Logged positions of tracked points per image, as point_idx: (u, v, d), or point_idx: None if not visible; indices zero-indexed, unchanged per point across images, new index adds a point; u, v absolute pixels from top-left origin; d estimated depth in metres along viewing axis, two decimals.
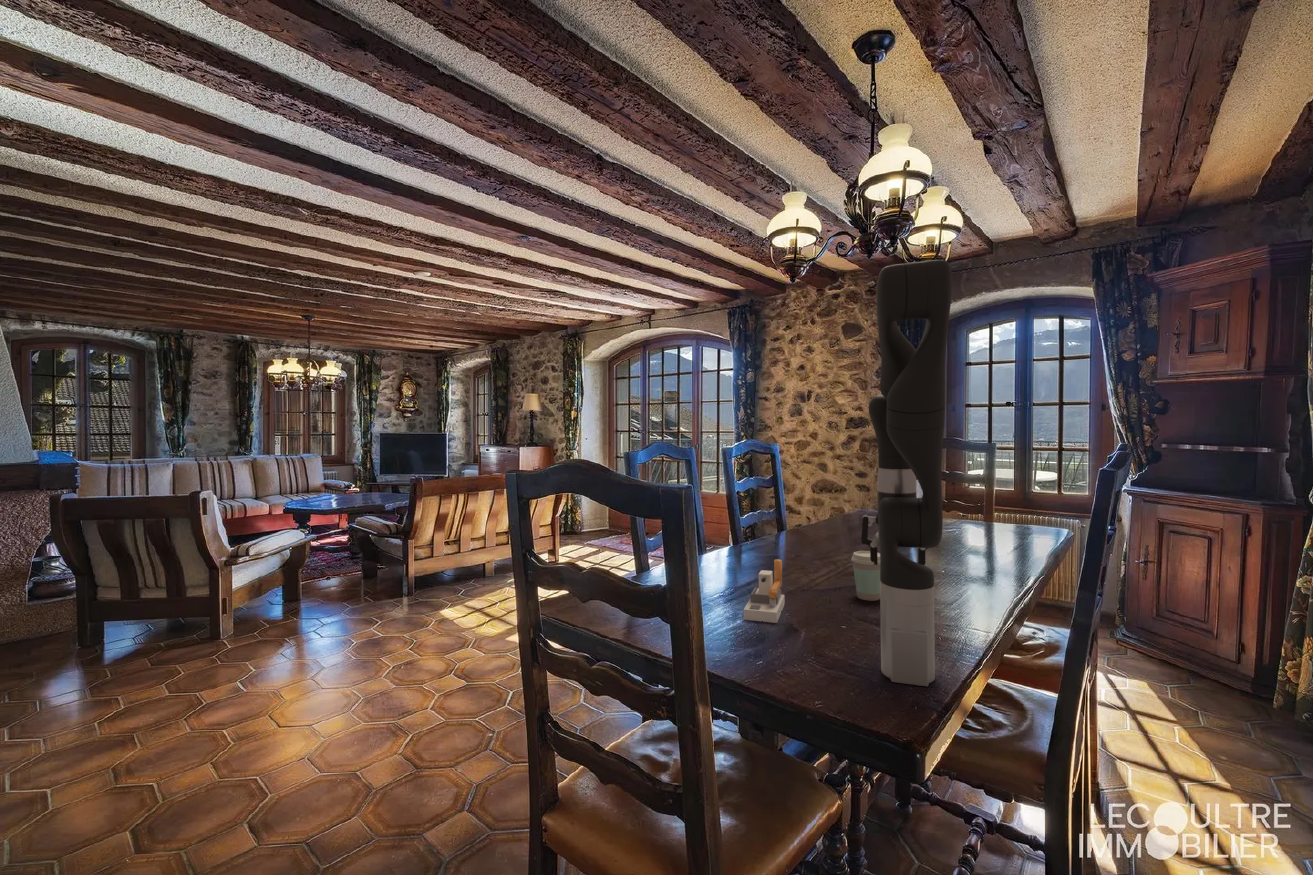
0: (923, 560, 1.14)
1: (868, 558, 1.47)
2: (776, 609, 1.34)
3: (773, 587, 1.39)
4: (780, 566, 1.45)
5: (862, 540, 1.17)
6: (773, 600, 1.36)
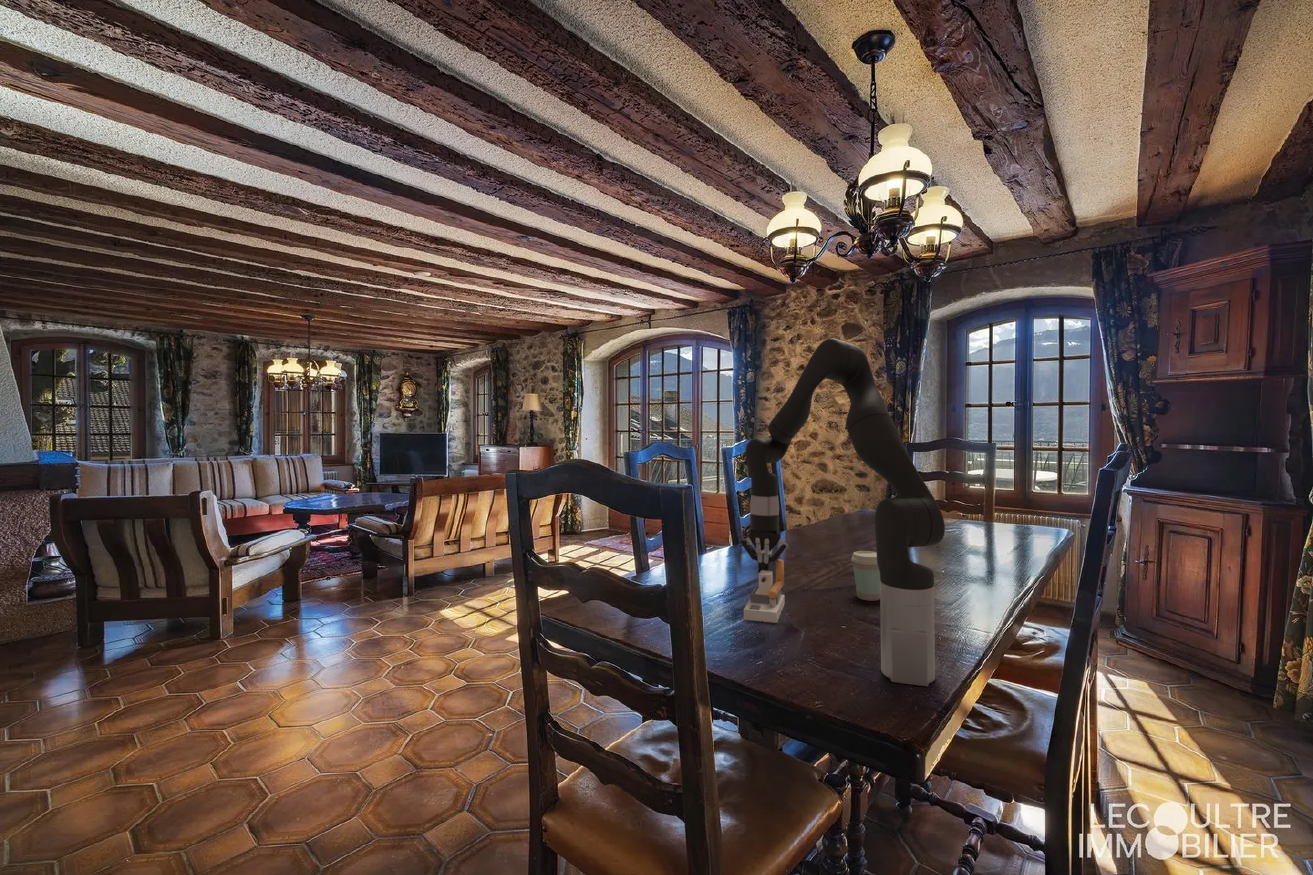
0: None
1: (868, 558, 1.47)
2: (776, 609, 1.34)
3: (773, 587, 1.39)
4: (782, 566, 1.45)
5: (752, 556, 1.48)
6: (773, 600, 1.36)
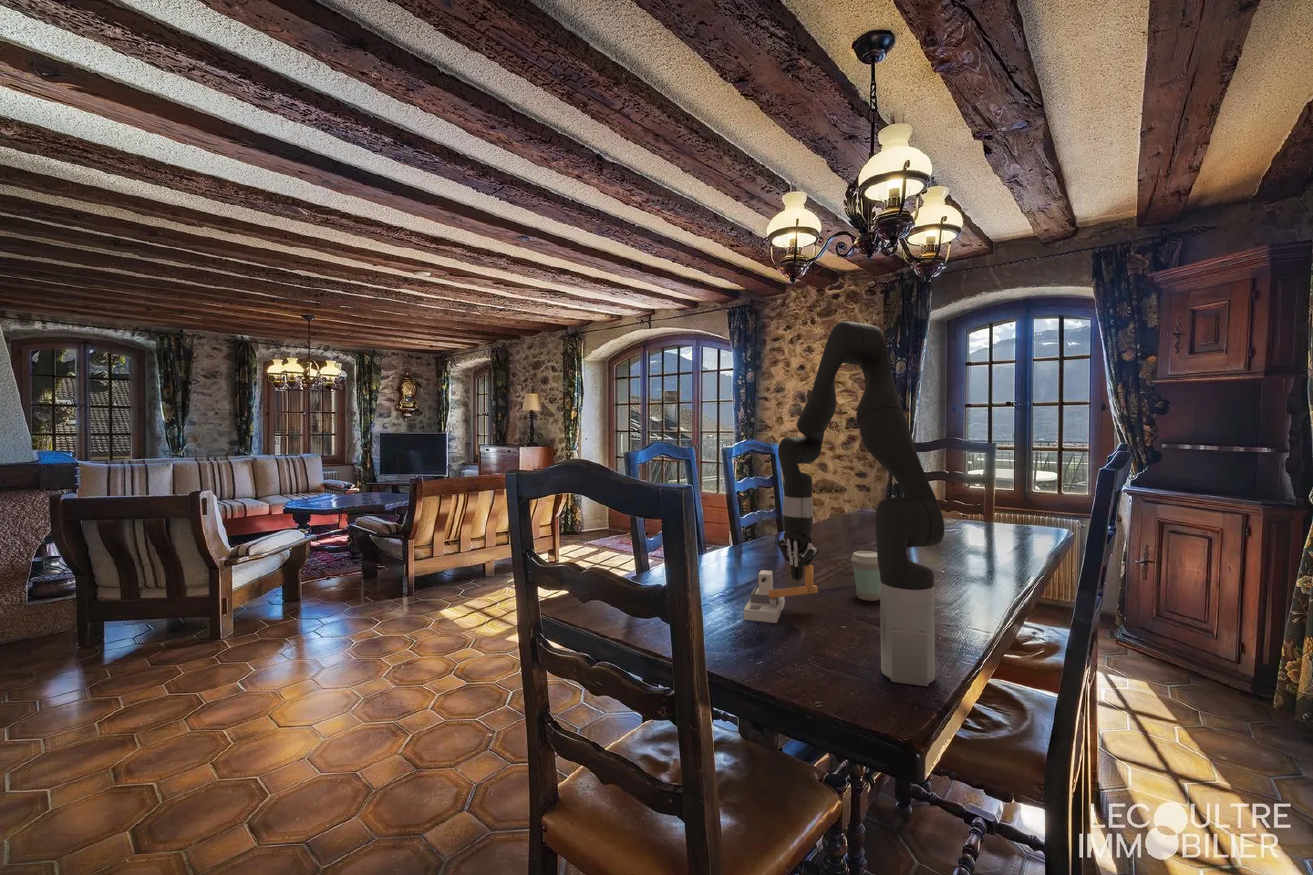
0: (797, 574, 1.42)
1: (868, 558, 1.47)
2: (776, 609, 1.34)
3: (782, 589, 1.37)
4: (808, 572, 1.39)
5: (785, 557, 1.45)
6: (773, 600, 1.36)
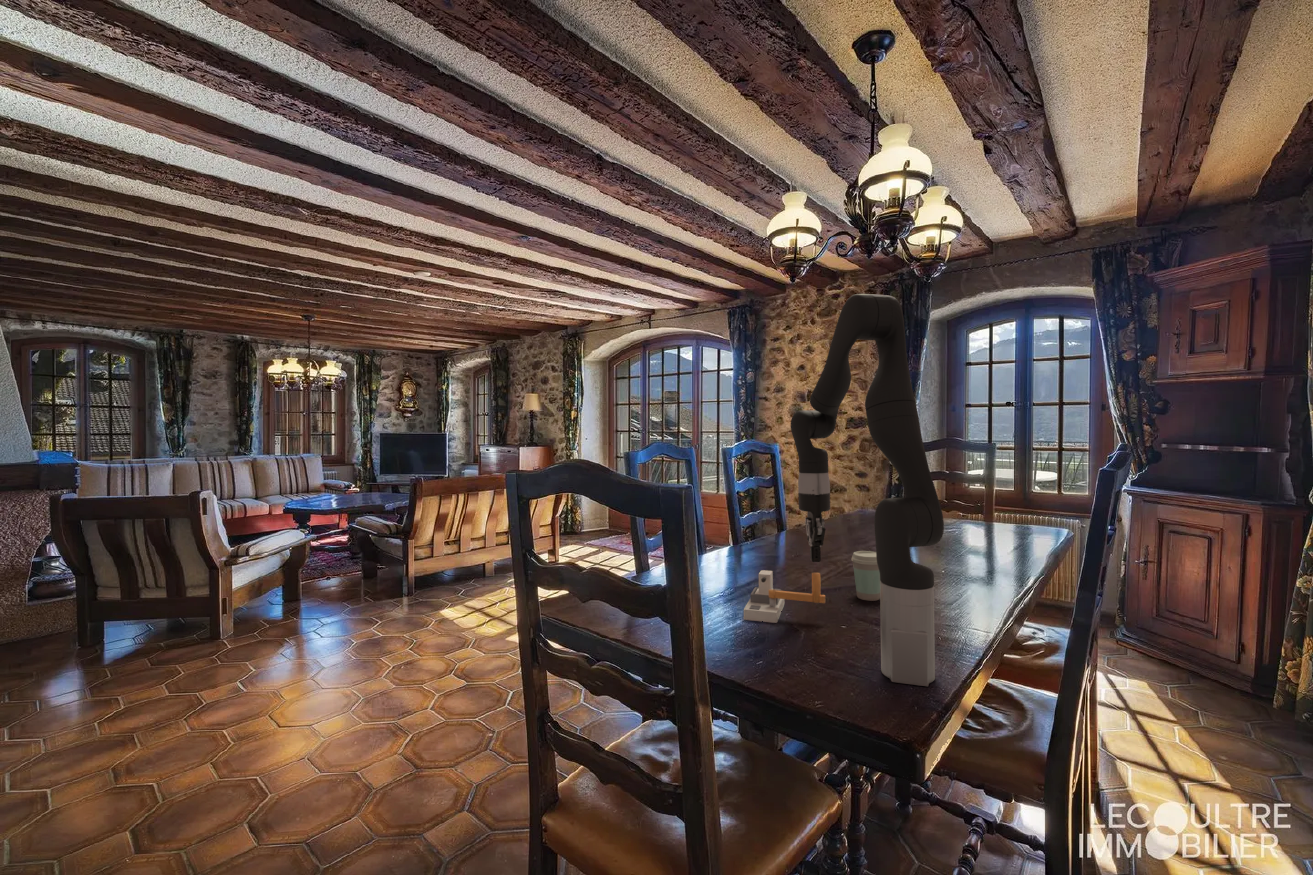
0: (813, 555, 1.34)
1: (868, 558, 1.47)
2: (776, 609, 1.34)
3: (784, 591, 1.35)
4: (813, 580, 1.32)
5: (807, 538, 1.38)
6: (773, 600, 1.36)
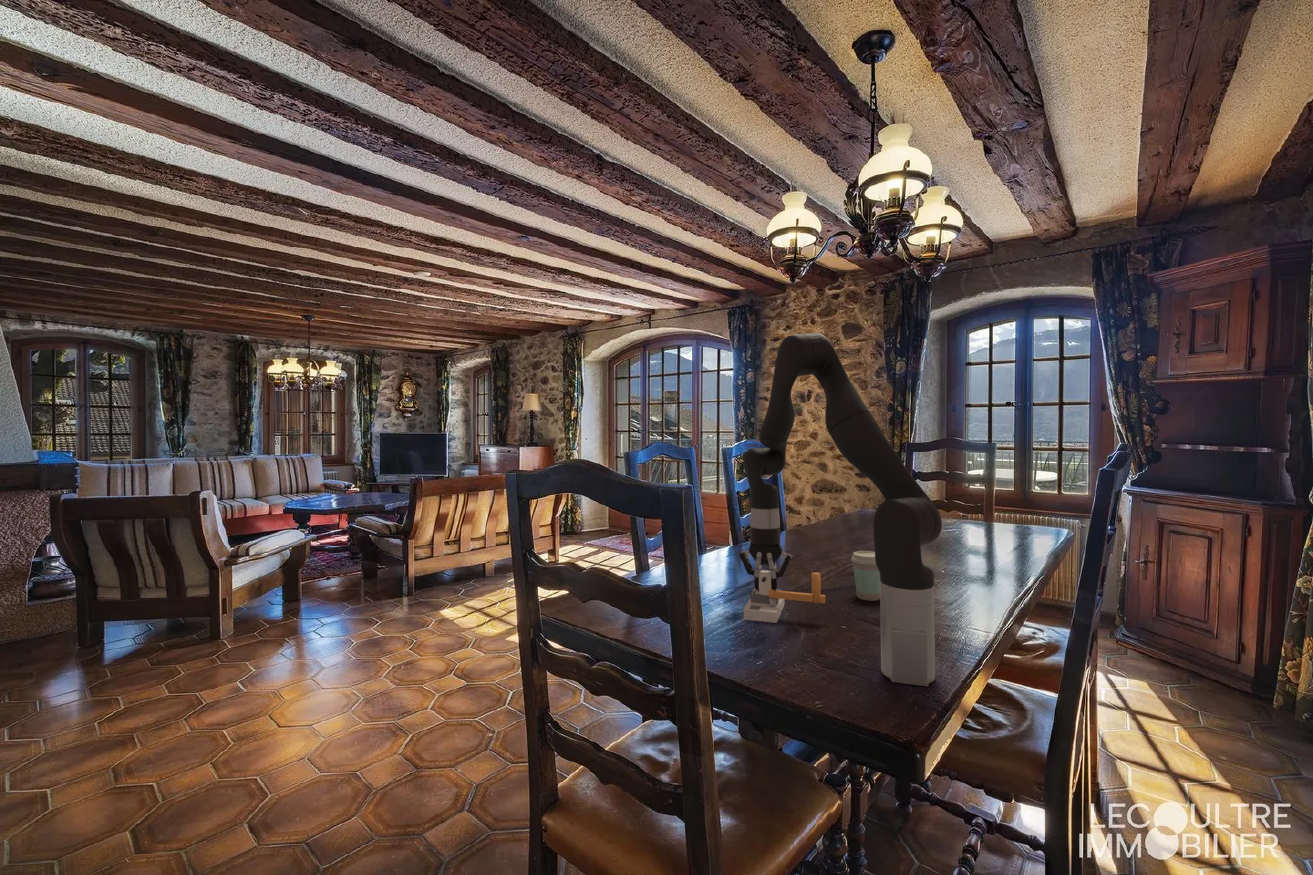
0: None
1: (868, 558, 1.47)
2: (776, 609, 1.34)
3: (784, 591, 1.35)
4: (813, 580, 1.32)
5: None
6: (773, 600, 1.36)
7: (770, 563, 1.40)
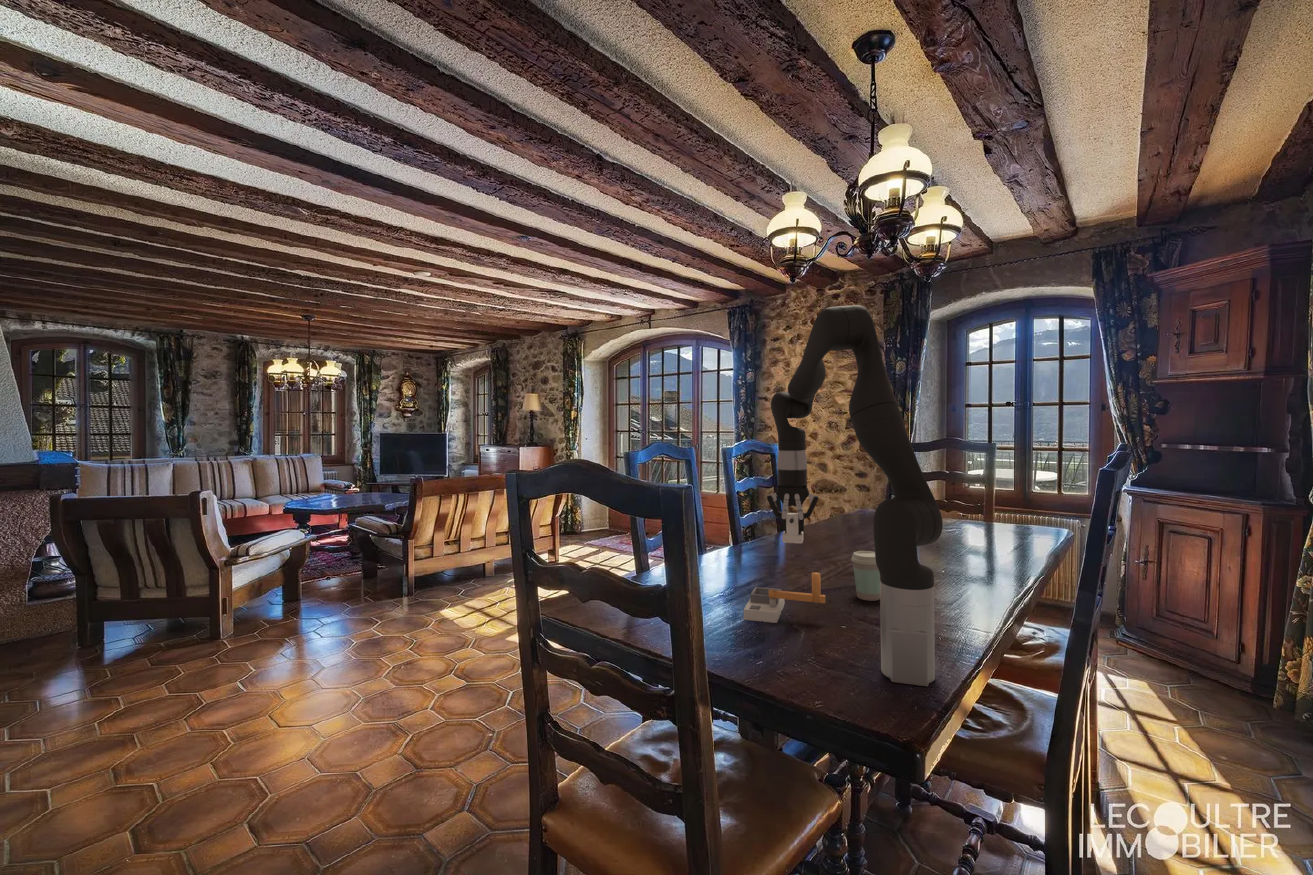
0: None
1: (868, 558, 1.47)
2: (776, 609, 1.34)
3: (784, 591, 1.35)
4: (813, 580, 1.32)
5: None
6: (773, 600, 1.36)
7: (798, 504, 1.42)
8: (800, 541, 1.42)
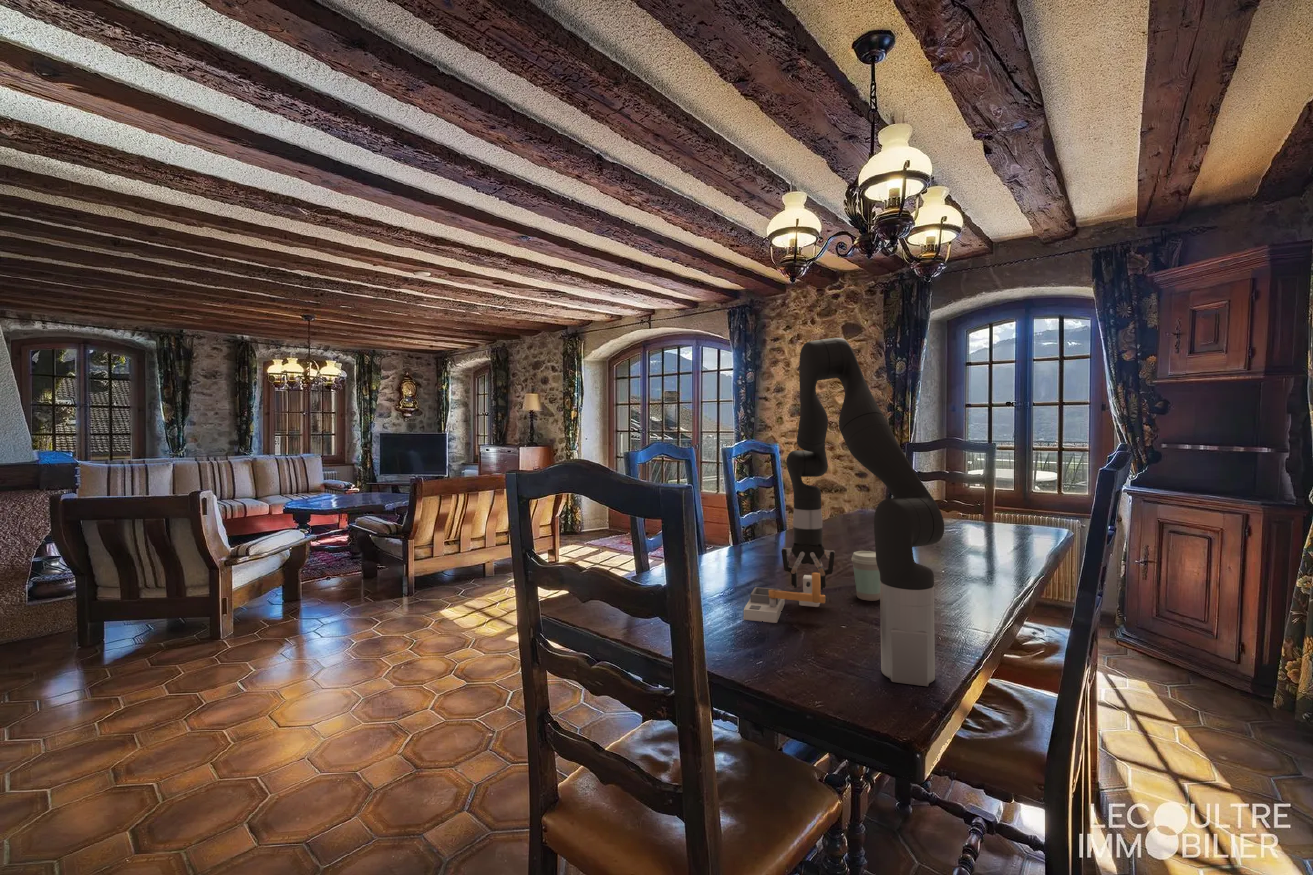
0: None
1: (868, 558, 1.47)
2: (776, 609, 1.34)
3: (784, 591, 1.35)
4: (813, 580, 1.32)
5: None
6: (773, 600, 1.36)
7: (816, 562, 1.44)
8: (817, 605, 1.43)
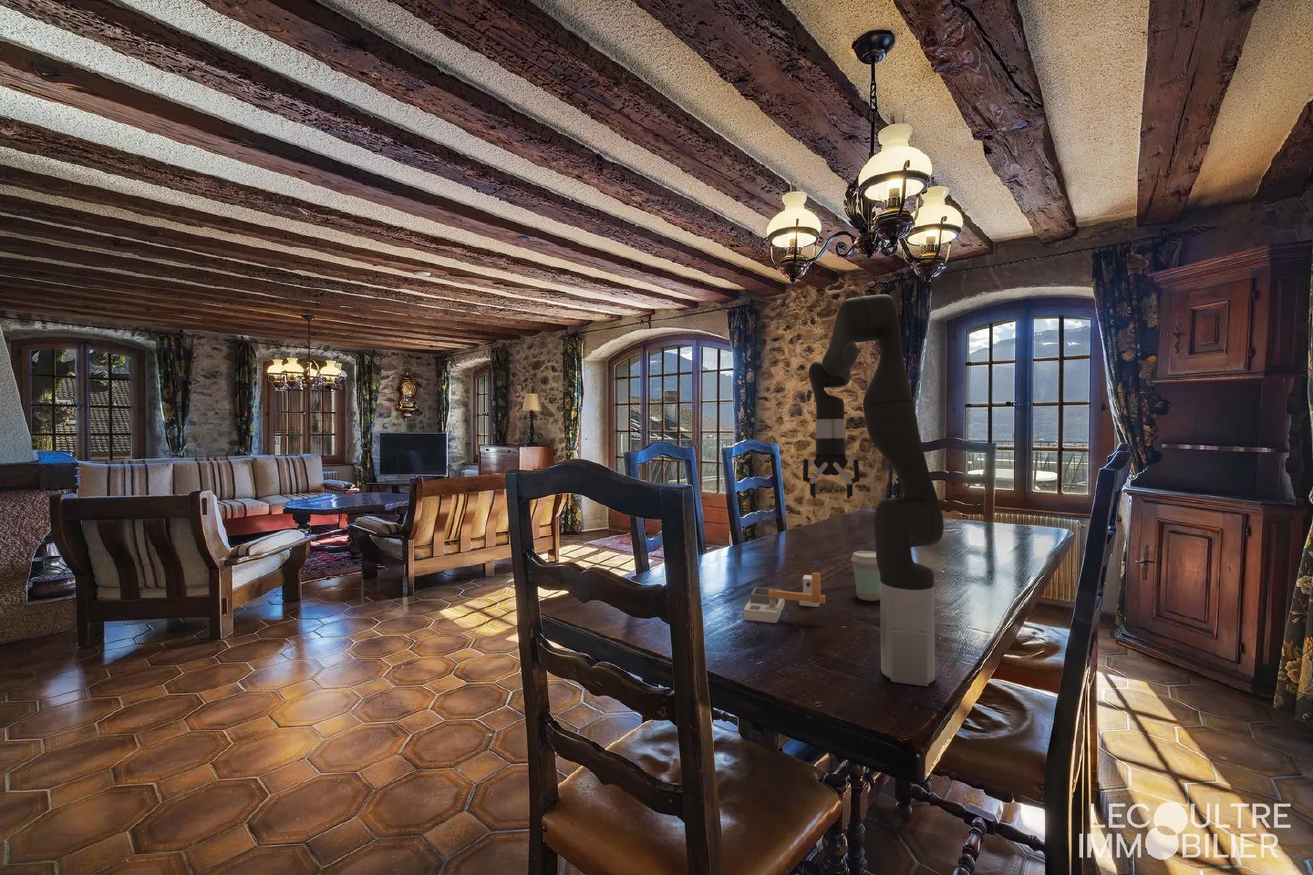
0: None
1: (868, 558, 1.47)
2: (776, 609, 1.34)
3: (784, 591, 1.35)
4: (813, 580, 1.32)
5: None
6: (773, 600, 1.36)
7: (840, 471, 1.42)
8: (817, 605, 1.43)
